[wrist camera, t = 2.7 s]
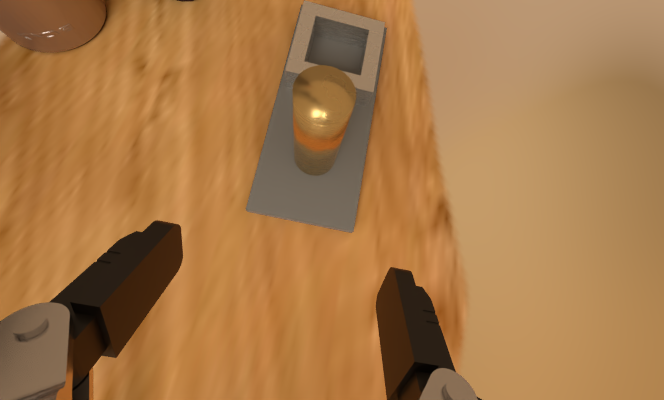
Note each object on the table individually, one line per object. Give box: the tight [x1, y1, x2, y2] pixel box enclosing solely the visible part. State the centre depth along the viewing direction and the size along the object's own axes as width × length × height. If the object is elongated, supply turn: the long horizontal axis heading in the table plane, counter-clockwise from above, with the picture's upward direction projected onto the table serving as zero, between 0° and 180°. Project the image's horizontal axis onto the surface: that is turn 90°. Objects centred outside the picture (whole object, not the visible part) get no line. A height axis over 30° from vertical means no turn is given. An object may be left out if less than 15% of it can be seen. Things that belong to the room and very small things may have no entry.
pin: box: [292, 65, 356, 176], centre depth 22 cm, size 4×4×10 cm
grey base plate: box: [246, 5, 387, 233], centre depth 29 cm, size 24×10×1 cm, turn 169°
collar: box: [285, 0, 385, 107], centre depth 28 cm, size 9×9×2 cm
